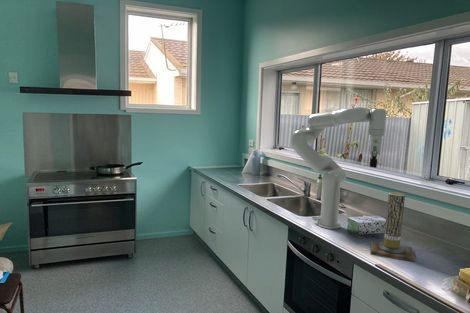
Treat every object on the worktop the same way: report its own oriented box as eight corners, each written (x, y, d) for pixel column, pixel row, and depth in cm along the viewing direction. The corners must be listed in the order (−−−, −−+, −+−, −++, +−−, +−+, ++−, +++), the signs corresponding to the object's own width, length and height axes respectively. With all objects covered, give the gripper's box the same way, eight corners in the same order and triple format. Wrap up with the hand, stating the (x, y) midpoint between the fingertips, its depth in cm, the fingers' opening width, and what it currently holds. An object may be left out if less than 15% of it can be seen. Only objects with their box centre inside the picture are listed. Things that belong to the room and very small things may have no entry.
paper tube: (386, 243, 171) (391, 191, 168) (401, 246, 167) (406, 193, 164) (381, 246, 166) (386, 192, 163) (397, 250, 162) (402, 195, 159)
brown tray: (370, 254, 162) (371, 248, 162) (370, 243, 176) (370, 238, 176) (414, 261, 156) (415, 256, 156) (411, 250, 170) (411, 245, 170)
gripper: (384, 134, 175) (381, 168, 177) (383, 132, 192) (380, 164, 194) (368, 132, 178) (365, 167, 180) (368, 132, 194) (365, 163, 196)
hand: (373, 166), depth 187 cm, fingers open, 9 cm apart
